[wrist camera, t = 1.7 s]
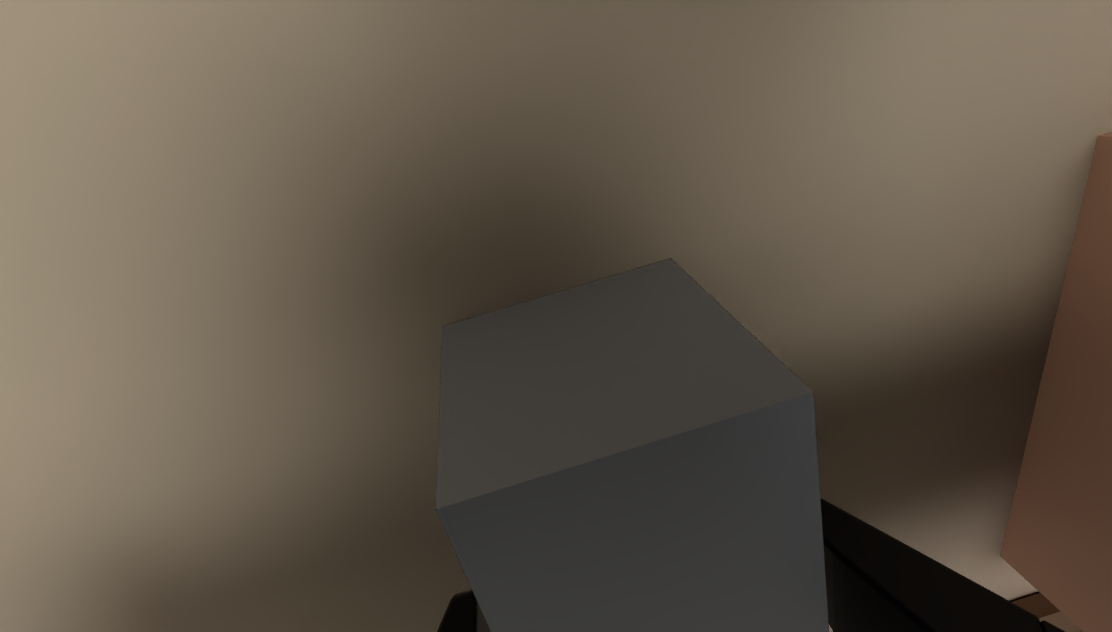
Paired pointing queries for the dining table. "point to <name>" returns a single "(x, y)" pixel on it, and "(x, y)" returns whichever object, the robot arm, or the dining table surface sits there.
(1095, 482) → the tall terracotta pillar
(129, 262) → the dining table surface
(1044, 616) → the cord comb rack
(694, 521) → the tall slate pillar
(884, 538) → the robot arm
